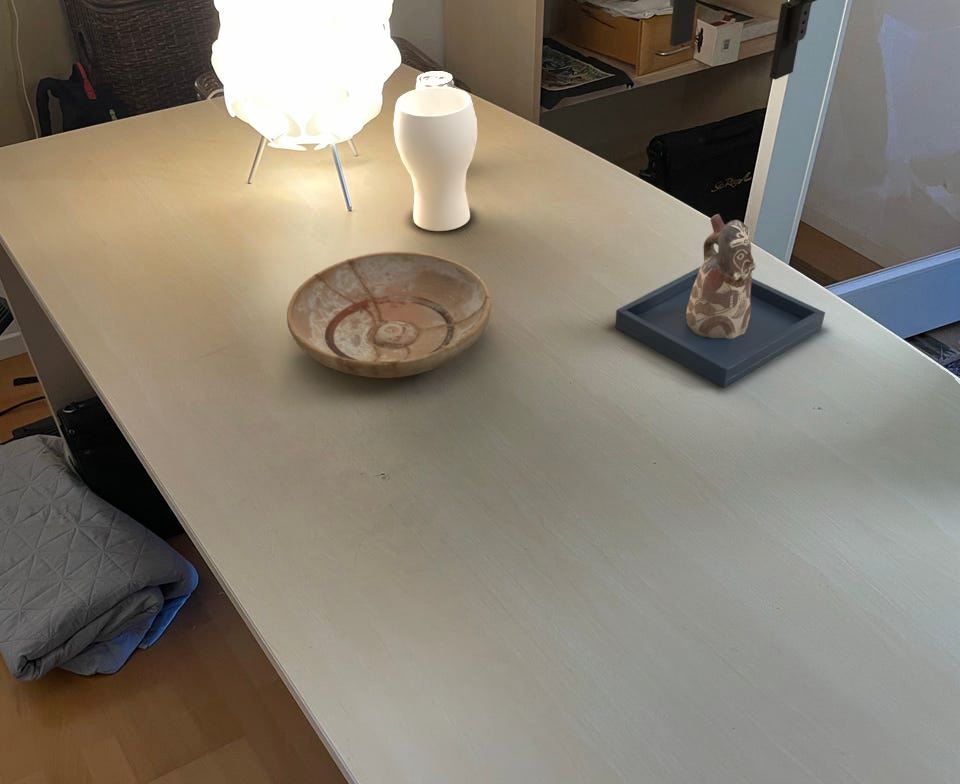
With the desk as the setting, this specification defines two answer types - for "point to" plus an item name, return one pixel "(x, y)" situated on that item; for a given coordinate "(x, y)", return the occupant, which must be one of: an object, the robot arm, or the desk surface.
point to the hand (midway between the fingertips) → (729, 58)
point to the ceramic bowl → (389, 313)
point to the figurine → (723, 283)
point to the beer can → (434, 80)
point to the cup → (437, 152)
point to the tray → (719, 359)
